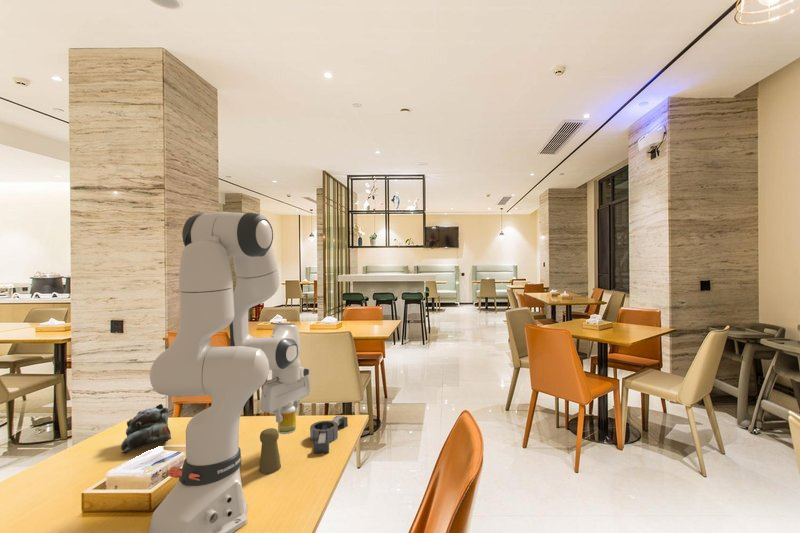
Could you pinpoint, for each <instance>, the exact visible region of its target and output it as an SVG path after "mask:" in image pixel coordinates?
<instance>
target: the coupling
mask: <svg viewBox="0 0 800 533" xmlns="http://www.w3.org/2000/svg"><path fill="white" fill-rule="evenodd" d="M348 423H349V422H348V417H347V416H345V415H343V414H342V415H341V414H338V415H336V416H335V417H333V418H332V419H331V420H320V421H317V422H314V423H312V424H310V426H309V427H310V428H309V434H310V435H309V436H310V441H311V442H312V443H313V444H314V445H313V447H314V448H313V449H314V451H313V452H314V454H313V455H319V454H330V453H329V452H330V443H332V442H334V441H336V440H338V436H339V435H338V434H339V429H338V428H342V429H345V428H346V427H347V426H348Z"/></svg>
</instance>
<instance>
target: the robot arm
mask: <svg viewBox="0 0 800 533" xmlns="http://www.w3.org/2000/svg"><path fill="white" fill-rule="evenodd" d="M181 234H182V236H181V237H182V243H183V245H184V248H183V250H182V251H181V254H180V260H179V261H180V262H179V269H178V270H179V273H178V287H179V289H178V290H179V326H178V330H177V332H176V335H175V337H174V338H173V340H172V342H171V344H170V345H169V346H168V347H167V348H166V349H165V350H164V351H163V352H161V353H160V354H158V356H157V357H156V358H155V360H154V361H153V363H152V364H151V368H150V370H149V381H150V385H151V387H152V389H153V390H154V391H155V392H156V393H157V394H159V395H162V396H163V395H164V396H169V397H176V398H185V397H187V398H188V397H189V398H190V397H203V396H204V397H205V396H208V397H210V398H211V404H210V406H209V407H207V408H205V409H203V410H201V411H200V412H198V413H196V414H195V415H194V416H192V418H191V419H189V421H188V423H187V425H186V429H185V458H184V460H183V464H182V467H181V468H180V467H177V466H172V467H170V468H169V471H168V477H169V478H175V479H178V481H177V482H176V483H175V485H174V486H173V487H172V488H171V490H170V491H169V492H168V494H167V495H166V496H165V497H164V499H163V500H162V501H161V502H160V504H159V505H158V506H157V507H156V509H154V511H153V513H152V515H151V517H150V518H151V519H150V522H149V530H148V532H147V533H234V532H236V531H237V530H239V529H241V528H242V527H243V526H245V525H246V524H247V523H248V517H247V511H248V503H247V500H246V498H245V495H244V490H243V483H242V479H241V470H240V469H241V468H240V467H241V465H242V452H241V448H240V444H239V442H240V441H239V437H240V435H239V434H240V421H241V420H240V419H241V414H242V412H243V410H244V407H245V405H246V403H247V402H248V401H249V399H250V398H251V397H252V396H253V395H254V394H255V393H256V392H257V391H259V390H260V389H261V388H262V390H261V394H260V406H259V407H260V411H261V412H263V413H268V414H269V413H273V414H274V416H275V422H276V423H278V422H279V423H280V422H282V421H283V420H284V419H283V418H284V415H281V413H280V411H281V408H282V407H284V406H286V405H288V404H289V402H291V401H293V405H292V406H294V407H295V410H296V415H298V408H299V406H300V404H301V402H300V401H301V400H303V399H304V398H306V397H308V396H309V395H310V392H311V377H310V375H311V368H309V367H303V366H301V363H302V362H301V359H300V353H301V338H300V331H299V326H298V325H296V324H295V323H276V324H274V325H273V327H272V335H270V336H268V337H267V336H266V337H263V336H262V337H258V336H257V337H255V336H252V335H251V334H250V332H249V331H250V330H249V310H250V309H251V308H253V307H255V306H257V305H261V304H263V303H265V302H266V301H268V300H269V299H271V298H272V297H273V296H274V295H275V294H276V293H277V291H278V289H279V286H280V276H279V275H280V273H279V269H278V264H277V258H276V255H275V252H274V250H273V246H272V244H273V240H274V231H273V226H272V224H271V223H270V221H269V220H268V219H267V218H266V216H264V215H262V214H259V213H257V212H256V213H255V212H246V213H245V212H233V211H231V212H230V211H218V212H210V213H207V212H206V213H205V212H204V213H203V212H201V213H198V214H194V215H192V216H190V217H188V218H187V219H186V221H185V223H184V225H183V227H182V233H181ZM232 258H233V267H234V268H233V269H234V274H235V276H236V277H235V278H236V279H235V280H236V285H235V288H234V285H233V283H234V282H233V275H232V274H233V273H232V267H231V263H230V262H231V259H232ZM228 327H229V339H230V340H229V341H230V342H229V346H212V343H211V340H212V337H213V336H214V335H216V334H218V333H220V332H222V331H223V330H225V329H226V328H228ZM270 371H271V379H268V376H269V374H270Z"/></svg>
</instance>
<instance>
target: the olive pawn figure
mask: <svg viewBox="0 0 800 533" xmlns="http://www.w3.org/2000/svg"><path fill="white" fill-rule="evenodd" d="M279 435H280V433H279V432H278V428H273V427H272V428H265V429H263V430H262V431H261V432H260V435H259V441H260V443H261V450H260V458H259V467H258V472H259V473H260V474H263V475H268V474H273V473H276V472H278V471H279V470H281V468H282V465H281V458H280V452H279V445H278V440H279Z"/></svg>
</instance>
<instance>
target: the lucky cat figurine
mask: <svg viewBox="0 0 800 533" xmlns="http://www.w3.org/2000/svg"><path fill="white" fill-rule="evenodd" d="M168 420H169V408H168V407H166V406H165V407H164V405H163V404H162V403H161V404H158V405H156V407H149V408H145V409H143V410H139V411H138V412H137V414H136V415H135V416H134V417H132V418H130V419H128V421H126V426H127V428H126V430H125V435H126V437H125V438H124V440H123V441H122V443H121V444H120V449H121V454H124V453H125V454H127V453H129V452H132V451H135V450H137V449H140V448H143V447H146V446H151V445H154V444H159V443H166V441H167V442H169V441H170V440H172V436H171V431H170V428H169V424H168Z"/></svg>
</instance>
